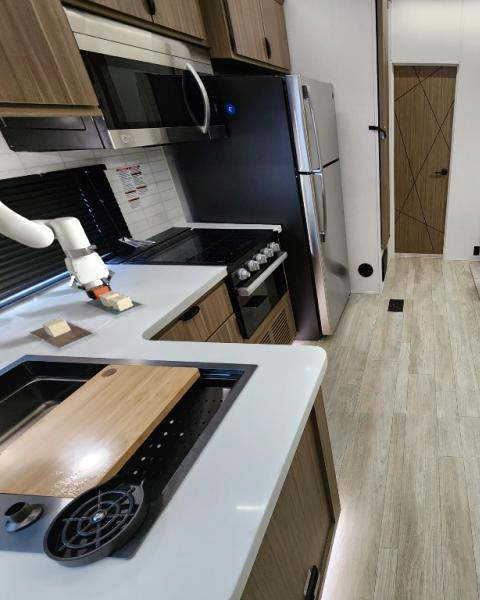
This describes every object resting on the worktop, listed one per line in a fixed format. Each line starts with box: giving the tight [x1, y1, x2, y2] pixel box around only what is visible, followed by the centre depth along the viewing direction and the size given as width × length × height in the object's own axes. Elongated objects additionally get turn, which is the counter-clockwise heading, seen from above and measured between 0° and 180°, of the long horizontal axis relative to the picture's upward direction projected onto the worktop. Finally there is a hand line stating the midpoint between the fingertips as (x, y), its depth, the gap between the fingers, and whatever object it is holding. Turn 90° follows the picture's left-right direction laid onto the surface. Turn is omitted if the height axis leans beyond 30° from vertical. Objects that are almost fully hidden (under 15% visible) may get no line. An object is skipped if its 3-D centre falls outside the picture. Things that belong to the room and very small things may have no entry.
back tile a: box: [109, 294, 133, 311], centre depth 124 cm, size 4×4×4 cm
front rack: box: [29, 321, 94, 349], centre depth 110 cm, size 20×9×1 cm, turn 64°
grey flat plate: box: [84, 299, 143, 316], centre depth 127 cm, size 22×9×1 cm, turn 64°
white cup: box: [89, 279, 103, 288], centre depth 140 cm, size 7×7×7 cm
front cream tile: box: [41, 317, 71, 337], centre depth 109 cm, size 4×4×4 cm
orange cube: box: [90, 285, 110, 300], centre depth 128 cm, size 4×4×4 cm
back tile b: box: [99, 290, 121, 307], centre depth 126 cm, size 4×4×4 cm
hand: (101, 295), depth 129 cm, fingers closed on orange cube, 4 cm apart
